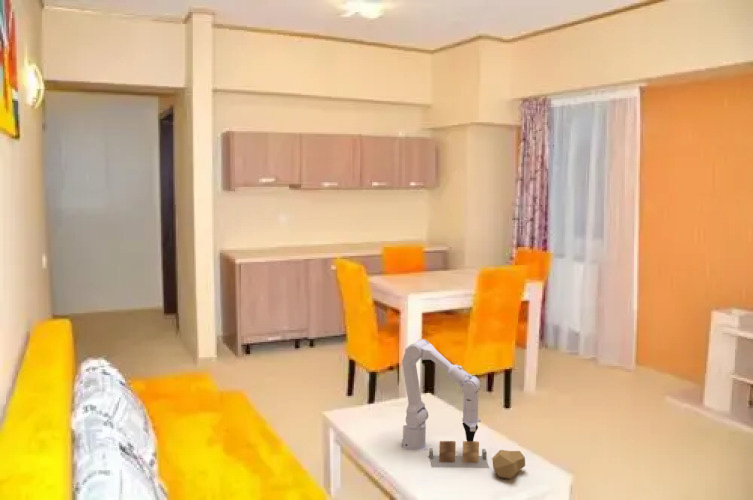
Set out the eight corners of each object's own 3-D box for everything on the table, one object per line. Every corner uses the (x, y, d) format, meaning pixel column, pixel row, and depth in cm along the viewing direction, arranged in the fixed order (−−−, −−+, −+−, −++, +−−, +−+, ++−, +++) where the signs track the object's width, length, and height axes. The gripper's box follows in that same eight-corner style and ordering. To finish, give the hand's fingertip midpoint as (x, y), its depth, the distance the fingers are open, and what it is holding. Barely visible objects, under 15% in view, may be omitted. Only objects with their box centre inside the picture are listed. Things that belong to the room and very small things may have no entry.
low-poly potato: (495, 486, 234) (524, 476, 230) (483, 456, 237) (512, 445, 234) (504, 479, 247) (532, 470, 244) (493, 451, 251) (520, 441, 247)
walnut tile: (439, 462, 251) (439, 442, 249) (439, 460, 252) (439, 440, 251) (455, 462, 251) (455, 442, 249) (454, 460, 252) (455, 440, 251)
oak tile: (462, 462, 251) (463, 442, 249) (462, 460, 252) (462, 441, 251) (478, 462, 251) (479, 442, 249) (477, 460, 252) (478, 441, 251)
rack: (431, 468, 246) (431, 459, 246) (429, 456, 256) (429, 448, 256) (489, 469, 246) (489, 460, 246) (485, 457, 256) (485, 448, 256)
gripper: (484, 415, 245) (482, 449, 247) (478, 401, 259) (477, 434, 261) (465, 415, 245) (464, 449, 247) (460, 401, 259) (459, 434, 261)
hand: (469, 441), depth 254 cm, fingers closed
